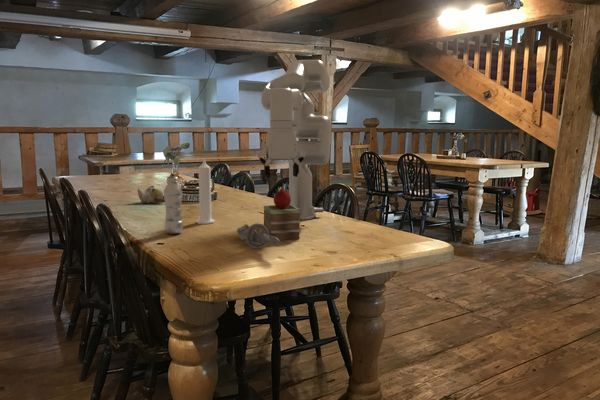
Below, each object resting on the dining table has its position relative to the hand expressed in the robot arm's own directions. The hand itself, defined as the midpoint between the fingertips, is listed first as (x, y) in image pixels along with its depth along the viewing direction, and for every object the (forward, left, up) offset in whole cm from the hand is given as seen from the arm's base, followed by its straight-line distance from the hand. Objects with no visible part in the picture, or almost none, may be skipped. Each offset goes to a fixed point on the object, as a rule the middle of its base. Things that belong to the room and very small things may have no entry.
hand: (281, 176), depth 169 cm
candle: (+22, -32, -21) cm, 44 cm away
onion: (0, 0, -12) cm, 12 cm away
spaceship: (+12, +14, -21) cm, 28 cm away
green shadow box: (0, 0, -21) cm, 21 cm away
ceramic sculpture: (+41, -87, -21) cm, 98 cm away
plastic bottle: (+35, -15, -21) cm, 43 cm away
